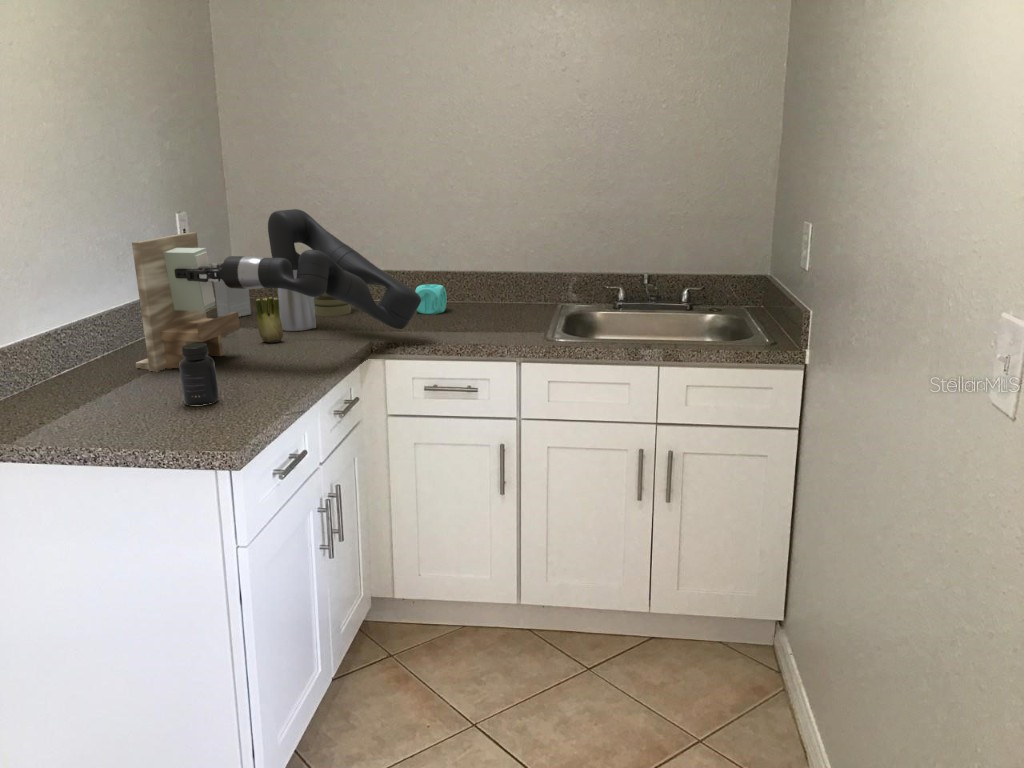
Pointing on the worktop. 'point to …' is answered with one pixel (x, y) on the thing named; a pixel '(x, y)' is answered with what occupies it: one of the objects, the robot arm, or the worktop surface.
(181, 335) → the wooden display stand
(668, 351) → the worktop surface
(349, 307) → the piston
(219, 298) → the skincare box
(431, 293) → the decorative dice
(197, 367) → the supplement bottle
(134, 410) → the worktop surface
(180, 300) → the cabinet
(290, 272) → the robot arm
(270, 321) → the fennel bulb
